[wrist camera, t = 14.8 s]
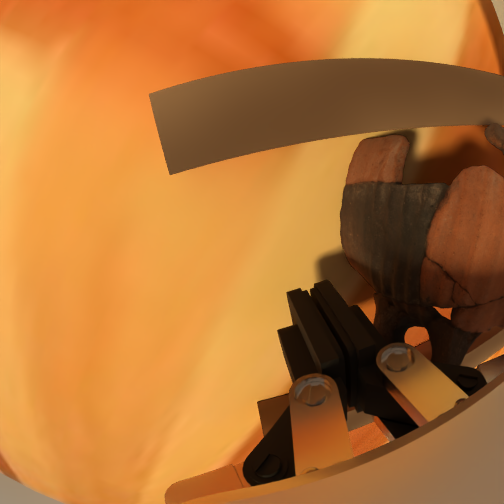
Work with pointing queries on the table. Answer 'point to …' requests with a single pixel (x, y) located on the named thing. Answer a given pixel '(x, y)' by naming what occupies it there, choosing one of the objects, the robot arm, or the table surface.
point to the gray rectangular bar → (499, 11)
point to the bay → (322, 127)
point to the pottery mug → (427, 245)
